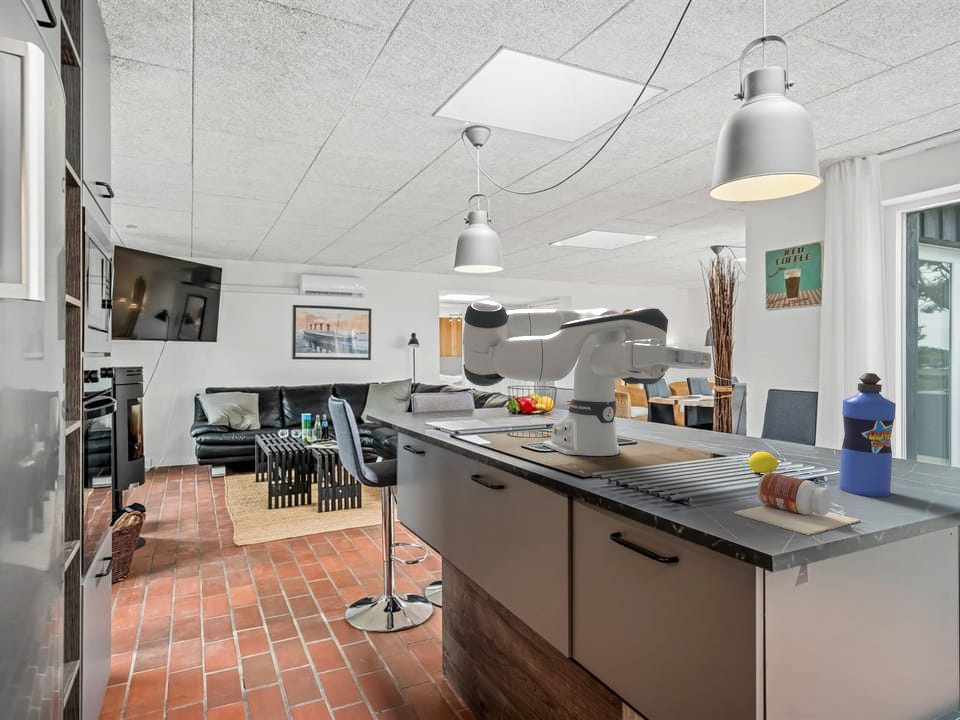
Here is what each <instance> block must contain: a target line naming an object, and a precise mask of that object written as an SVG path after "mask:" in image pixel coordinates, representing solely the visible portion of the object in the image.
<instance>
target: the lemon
mask: <svg viewBox="0 0 960 720" xmlns="http://www.w3.org/2000/svg"><path fill="white" fill-rule="evenodd" d="M748 465H749V467H750V469H751V470H752V471H753V472H754V473H756V472H760V473H774V472H775V471H776V469H777V467H778V466H779V461H778V460H777V459H776V457H775V456H774V455H773V454H771V453H769V452H766V451H756V452H754V453H753V454H751V456H750V457H749V460H748Z"/></svg>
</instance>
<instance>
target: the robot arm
mask: <svg viewBox="0 0 960 720" xmlns="http://www.w3.org/2000/svg"><path fill="white" fill-rule="evenodd" d="M463 320H464V326H463V327H464V328H463V333H462V345H463V347H462V348H463V361H464V362H463V363H464V364H463V371H464V372H463V373H464V377H465V379H466V380H467V381H469V382H470V383H471V384H472V385H475V386H480V387H490V386H495V385H497V384H499V383H500V382H502V381H503V380H505V379H510V380H515V381H521V382H537V383H539V382H540V383H545V382H546V383H547V382H558V381H561V380H563V379H565V378H566V377H567V376H568V375H569V374H570V373H571V372H572V370H574V373H573V376H574V377H573V398H572V400H567V401H566V402H567V404H566V406H569V408H568V412H567V413H566V414H565V415H564V416H562V417H561V418H560V419H559V420H558V421H556V422H555V423H554V424H553V426H552V428H551V434H550V435H551V439H547V440H544V441H543V442H542V445H543V446H544V447H547V448H549V449H552V450H554V451H557V452H559V453H562V454H563V455H574V456H575V455H577V456H588V457H589V456H590V457H607V456H615V455H618V454H619V453H620V445H619V444H618V434H617V421H616V413H617V401H616V400H615V399H616V398H615V397H616V394H615V393H616V379H621V381H623V382H625V383H626V384H628V385H637V384H639V385H655V384H657V383H658V382H660V380H661V379H663V378H664V376H665V375H666V372H667V371H668V370H669V369H678V370H679V369H680V370H709V369H711V367H712V354H711V353H710V352H706V351H700V350H699V351H698V350H694V349H686V348H679V347H670V346H667V334H668V328H669V327H668V325H669V319H668V317H667V316H666V315H665V314H664V312H662V311H661V309H660V308H656V307H649V306H648V307H647V306H646V307H640V308H636V309H632V310H631V311H627V312H621V313H620V312H618V311H617V310H614V309H613V308H610V307H598V308H589V309H560V308H558V309H557V308H556V309H555V308H554V309H553V308H549V309H548V308H544V309H543V308H542V309H540V308H539V309H537V308H534V309H530V308H529V309H513V310H511V309H510V310H506V308H505V307H504V306H503V305H501V304H500V303H499V302H496V301H492V300H476V301H474V302H473V303H471V304H469V305H468V306H467V308H466V310H465V314H464V319H463ZM574 367H575V368H574Z"/></svg>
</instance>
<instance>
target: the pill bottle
mask: <svg viewBox="0 0 960 720" xmlns="http://www.w3.org/2000/svg"><path fill="white" fill-rule="evenodd" d="M756 490H757V497H758V500H759V502H760V503H761V504H763V506H764V505H768V506H772V507H776V508H779V509H783V510H787V511H791V512H795V513H799V514H803V515H809V514H812V513H813V512H814V513H816V514H820V515H826V514H827V513H828V512H830V510H831V508H832V505H833V493H832V491H831V489H828V488H825V487H821V486H819V487H818V486H817V484H816V483H815V482H813V481H811V480H807V479H802V478H799V477H793V476H790V475H784V474H780V473H779V474H778V473H775V472H772V473H765V474H764V475H763V474H762V476H761V477H760V478H759V481H758V484H757V488H756Z"/></svg>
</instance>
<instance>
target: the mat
mask: <svg viewBox="0 0 960 720" xmlns="http://www.w3.org/2000/svg"><path fill="white" fill-rule="evenodd" d="M733 514H735V515H739V516H741V517H745V518H747V519H752V520H754V521H758V522H762V523H764V524H768V525H770V526H775V527H779V528H782V529H786V530H789V531H791V532H795V533H798V534H801V533H802V534H801V535H804V534H805V535H804V536H812V535H814V534H815V535H816V534H819V533H822V532H827V531H830V530H833V529H837V528H841V527H845V525H846V526H849V525H853V524H857V523H860V522H861V519H859V518H854V517H850V516H846V515H844V514H843V515H842V514H839V513H835V512H832V511H829V512H828V513H827V514H826V515H820V514H816V513H814V512H813V513H812V514H809V515H803V514H799V513H795V512H791V511H787V510H783V509H779V508H776V507H772V506H768V505H764V504H763V505H761V506H756V507H750V508H746V509H741V510H737V511H733ZM859 521H860V522H859ZM856 522H857V523H856ZM852 523H853V524H852ZM848 524H849V525H848ZM826 530H827V531H826ZM811 534H812V535H811Z"/></svg>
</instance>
